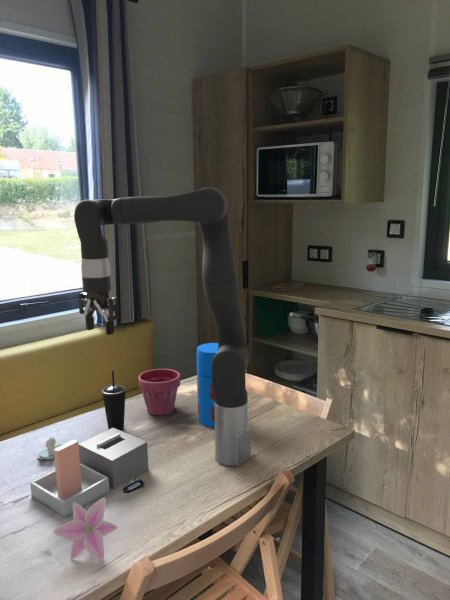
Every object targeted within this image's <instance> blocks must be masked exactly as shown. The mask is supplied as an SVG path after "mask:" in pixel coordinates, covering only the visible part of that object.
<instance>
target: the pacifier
mask: <svg viewBox="0 0 450 600" xmlns="http://www.w3.org/2000/svg"><path fill="white" fill-rule="evenodd" d="M56 441H57V440H56V438H55V437H49V438H48V439H47V440H46V442H45V447H46V448H47V449H46V450H43V451H41V452H38V454H37V456H36V457H37V459H38V460H46V461H49V460H52V459H53V460H54V459H55V458H54V449H56V448H58V447H60V446H62V445H63V444H57V445H56V443H57V442H56Z"/></svg>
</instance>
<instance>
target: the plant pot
mask: <svg viewBox="0 0 450 600" xmlns="http://www.w3.org/2000/svg"><path fill="white" fill-rule="evenodd" d="M180 386H181V374H180V372H179V371H177V370H175V369H172V368H171V369H170V368H155V369H149V370H146V371H145V370H144V371H143V372H141V373H140V374H139V375H138V388H139V389H140V391H141V392H142V396H143V400H144V404H145V407H146V410H147V412H148V413H149V414H150V415H153V416H154V415H155V416H163V415H164V416H165V415H168V414H171V413H172V412H174V409H175V404H176V399H177V395H178V388H180Z"/></svg>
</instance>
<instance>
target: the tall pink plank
mask: <svg viewBox="0 0 450 600" xmlns="http://www.w3.org/2000/svg"><path fill="white" fill-rule="evenodd" d="M78 444H79V441H78V440H76V439H72V440H69V441H68V442H66V443H64V444H61V445H62V446H60V447H58V448H56V449H54V458H53V459H54V466H55V470H56V480H57V491H58V497H59V498H61V499H62V500H63V499H64V498H66V497H68V496H69V495H71V494H73V493H74V492H76V491H78V490H79V489H81V488H82V482H81V470H80V457H79V445H78Z"/></svg>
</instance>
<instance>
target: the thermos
mask: <svg viewBox="0 0 450 600" xmlns="http://www.w3.org/2000/svg"><path fill="white" fill-rule="evenodd" d="M217 351H218V342H210V343H209V342H208V343H203V344H200V345H198V346H197V348H196V374H197V375H196V381H197V382H196V385H197V413H198V422H199V424H201V425H203V426H205V427H209V428H215V408H214V395H213V392H212V375H211V365H212V359H213V357H214V355H215V354H216V353H217Z"/></svg>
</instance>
